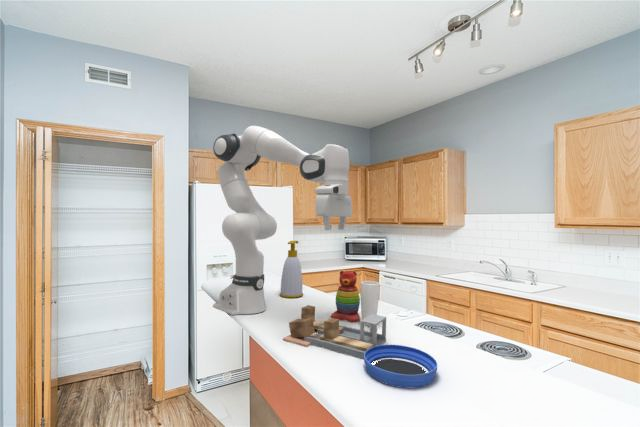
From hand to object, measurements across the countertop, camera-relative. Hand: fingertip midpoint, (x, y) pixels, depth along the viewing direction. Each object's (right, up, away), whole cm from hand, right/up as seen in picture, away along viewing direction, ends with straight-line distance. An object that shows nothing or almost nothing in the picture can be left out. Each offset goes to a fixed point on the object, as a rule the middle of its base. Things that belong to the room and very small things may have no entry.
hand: (334, 229), depth 115 cm
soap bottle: (-19, -34, +43) cm, 58 cm away
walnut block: (-11, -32, -12) cm, 36 cm away
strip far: (-5, -34, -4) cm, 34 cm away
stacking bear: (+5, -35, +12) cm, 37 cm away
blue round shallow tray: (+15, -35, -31) cm, 49 cm away
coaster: (-10, -34, -12) cm, 37 cm away
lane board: (+3, -34, -13) cm, 37 cm away
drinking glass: (+13, -35, +5) cm, 37 cm away
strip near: (+2, -34, -17) cm, 38 cm away
